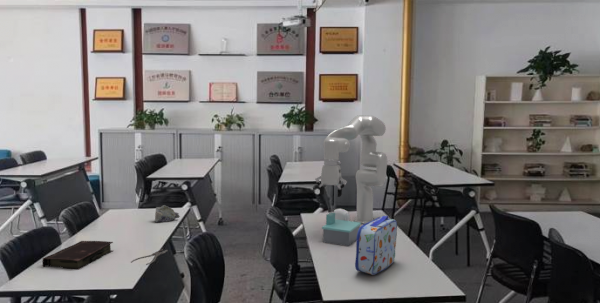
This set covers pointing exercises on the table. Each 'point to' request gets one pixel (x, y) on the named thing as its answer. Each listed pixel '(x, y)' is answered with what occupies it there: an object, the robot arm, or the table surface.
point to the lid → (339, 224)
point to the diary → (78, 255)
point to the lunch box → (376, 245)
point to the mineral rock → (165, 214)
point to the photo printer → (342, 214)
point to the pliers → (153, 255)
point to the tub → (340, 237)
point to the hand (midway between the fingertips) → (330, 195)
